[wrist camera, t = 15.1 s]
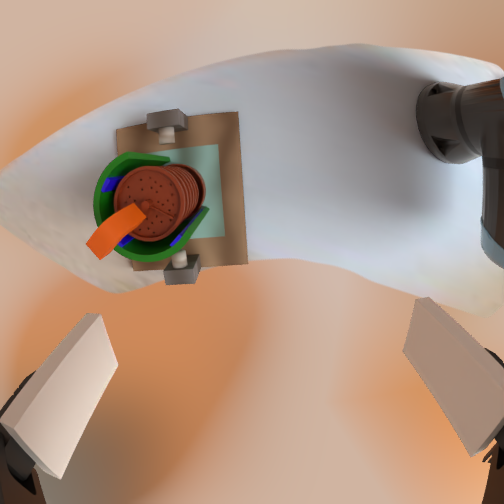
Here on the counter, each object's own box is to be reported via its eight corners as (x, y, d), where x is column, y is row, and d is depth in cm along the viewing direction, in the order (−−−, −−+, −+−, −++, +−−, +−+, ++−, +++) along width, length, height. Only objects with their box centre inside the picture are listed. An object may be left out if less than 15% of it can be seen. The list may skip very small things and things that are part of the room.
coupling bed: (238, 113, 36) (237, 102, 29) (247, 260, 43) (249, 280, 36) (120, 130, 36) (97, 125, 29) (136, 267, 43) (119, 286, 35)
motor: (224, 191, 38) (206, 217, 19) (186, 240, 40) (142, 306, 21) (167, 148, 36) (100, 136, 17) (132, 198, 38) (51, 231, 19)
